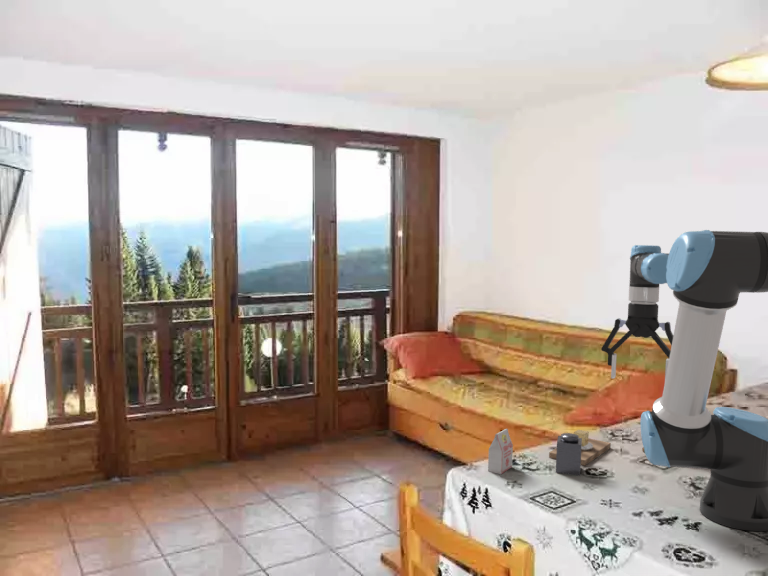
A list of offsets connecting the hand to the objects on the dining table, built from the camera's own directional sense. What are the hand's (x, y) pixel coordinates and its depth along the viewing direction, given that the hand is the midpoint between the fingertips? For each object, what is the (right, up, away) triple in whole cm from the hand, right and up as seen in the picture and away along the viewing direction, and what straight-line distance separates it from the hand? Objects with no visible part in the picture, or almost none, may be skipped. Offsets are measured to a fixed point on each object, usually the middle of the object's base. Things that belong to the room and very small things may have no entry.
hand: (639, 380), depth 177 cm
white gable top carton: (-39, -22, -7) cm, 45 cm away
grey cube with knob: (-21, -22, -7) cm, 32 cm away
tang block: (-14, -21, +8) cm, 27 cm away
